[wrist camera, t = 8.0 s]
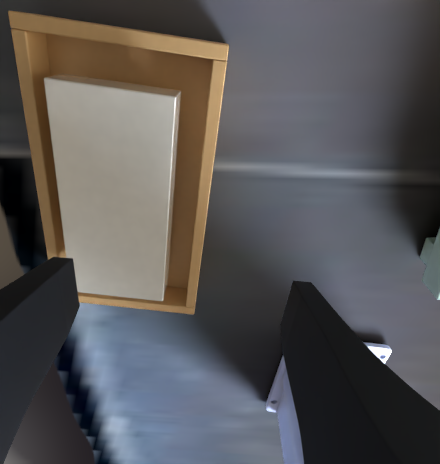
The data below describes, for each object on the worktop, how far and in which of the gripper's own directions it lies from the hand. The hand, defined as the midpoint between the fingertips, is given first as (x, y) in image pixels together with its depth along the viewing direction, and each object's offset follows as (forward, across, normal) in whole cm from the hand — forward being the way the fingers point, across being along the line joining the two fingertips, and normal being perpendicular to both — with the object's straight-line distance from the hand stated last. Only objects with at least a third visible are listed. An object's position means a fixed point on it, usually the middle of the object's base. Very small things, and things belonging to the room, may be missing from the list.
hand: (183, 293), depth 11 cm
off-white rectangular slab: (+9, +4, 0) cm, 10 cm away
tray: (+9, +4, 0) cm, 10 cm away
